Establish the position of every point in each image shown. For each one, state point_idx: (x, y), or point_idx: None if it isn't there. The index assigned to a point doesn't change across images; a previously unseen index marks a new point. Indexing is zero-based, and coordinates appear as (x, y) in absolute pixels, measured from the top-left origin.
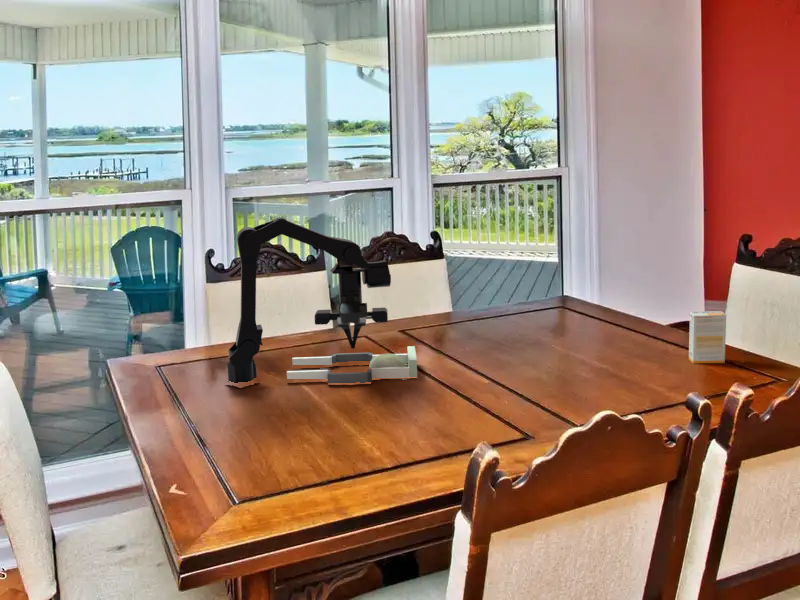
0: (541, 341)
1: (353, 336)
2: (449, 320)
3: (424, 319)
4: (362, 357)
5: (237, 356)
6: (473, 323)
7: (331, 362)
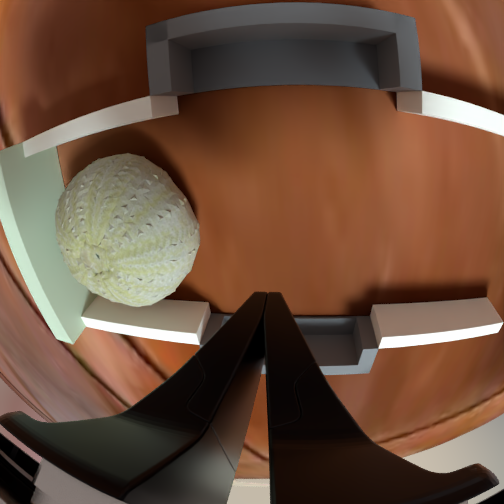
0: (7, 353)
1: (236, 362)
2: None
3: None
4: None
5: None
6: None
7: (378, 320)
